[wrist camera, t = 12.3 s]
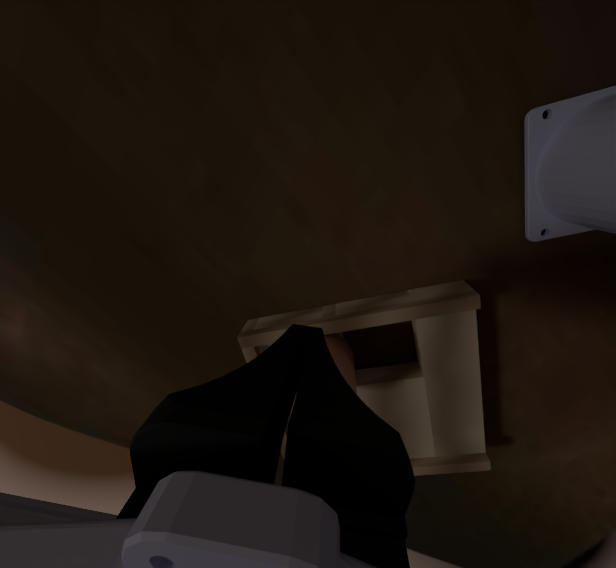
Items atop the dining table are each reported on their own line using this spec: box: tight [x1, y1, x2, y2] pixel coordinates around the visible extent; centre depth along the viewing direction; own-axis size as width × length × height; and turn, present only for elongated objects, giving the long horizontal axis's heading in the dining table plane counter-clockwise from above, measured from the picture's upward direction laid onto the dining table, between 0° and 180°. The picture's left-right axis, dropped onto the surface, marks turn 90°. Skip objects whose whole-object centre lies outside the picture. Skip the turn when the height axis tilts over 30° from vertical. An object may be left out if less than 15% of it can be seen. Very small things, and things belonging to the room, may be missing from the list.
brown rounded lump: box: [291, 333, 357, 412], centre depth 21 cm, size 5×5×4 cm
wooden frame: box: [237, 280, 491, 476], centre depth 24 cm, size 17×16×3 cm
